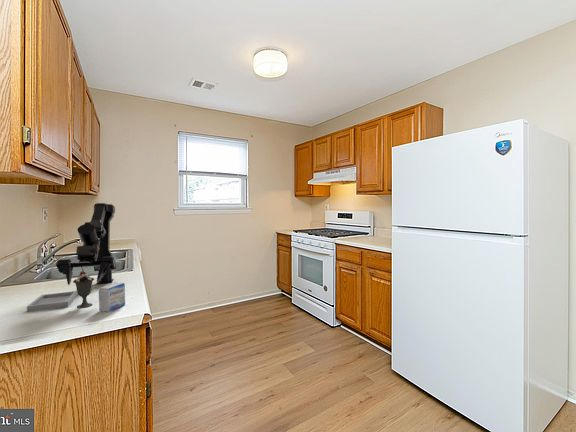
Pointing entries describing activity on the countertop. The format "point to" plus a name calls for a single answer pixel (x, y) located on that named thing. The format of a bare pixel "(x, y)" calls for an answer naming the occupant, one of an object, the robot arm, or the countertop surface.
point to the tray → (52, 301)
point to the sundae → (83, 287)
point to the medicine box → (111, 297)
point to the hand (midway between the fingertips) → (83, 283)
